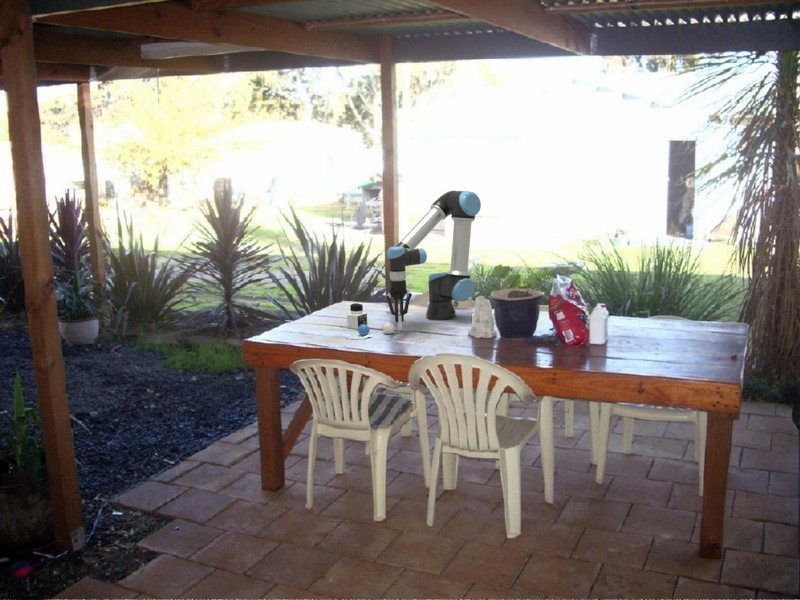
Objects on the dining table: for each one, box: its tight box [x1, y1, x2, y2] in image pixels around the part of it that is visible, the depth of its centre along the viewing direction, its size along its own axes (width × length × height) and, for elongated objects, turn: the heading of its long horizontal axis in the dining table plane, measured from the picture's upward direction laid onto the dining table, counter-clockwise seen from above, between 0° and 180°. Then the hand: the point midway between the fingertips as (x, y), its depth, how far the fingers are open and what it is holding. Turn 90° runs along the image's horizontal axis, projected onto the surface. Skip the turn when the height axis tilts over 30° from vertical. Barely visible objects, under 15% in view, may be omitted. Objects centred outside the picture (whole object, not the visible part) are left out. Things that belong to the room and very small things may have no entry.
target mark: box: [349, 332, 371, 340], centre depth 384 cm, size 14×14×1 cm
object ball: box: [357, 324, 370, 336], centre depth 384 cm, size 6×6×6 cm
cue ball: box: [382, 321, 395, 335], centre depth 386 cm, size 6×6×6 cm
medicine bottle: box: [346, 302, 368, 330], centre depth 401 cm, size 7×7×12 cm
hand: (399, 328), depth 388 cm, fingers closed
